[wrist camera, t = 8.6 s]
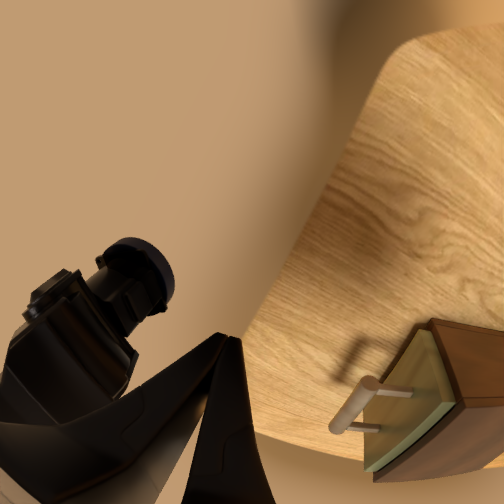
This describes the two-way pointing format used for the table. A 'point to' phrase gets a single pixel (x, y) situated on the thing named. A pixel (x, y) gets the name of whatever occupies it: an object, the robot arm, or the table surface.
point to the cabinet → (460, 408)
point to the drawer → (398, 404)
